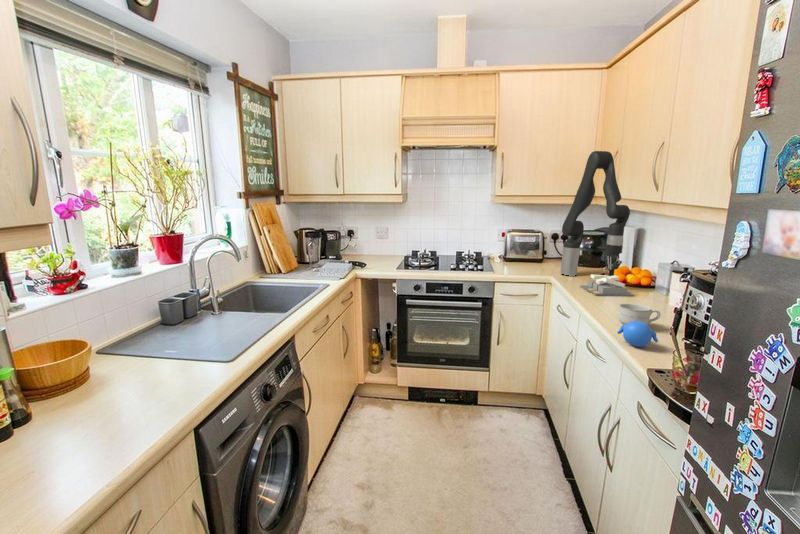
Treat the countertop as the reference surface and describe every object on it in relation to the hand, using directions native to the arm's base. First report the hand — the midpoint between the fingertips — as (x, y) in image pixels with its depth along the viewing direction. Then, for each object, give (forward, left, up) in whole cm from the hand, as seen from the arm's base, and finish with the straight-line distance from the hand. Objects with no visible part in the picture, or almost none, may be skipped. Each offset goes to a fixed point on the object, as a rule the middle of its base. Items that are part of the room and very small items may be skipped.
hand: (610, 276), depth 205 cm
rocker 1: (0, -5, -1) cm, 5 cm away
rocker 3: (+11, -5, -1) cm, 12 cm away
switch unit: (+5, -5, -7) cm, 10 cm away
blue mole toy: (+74, -31, -7) cm, 81 cm away
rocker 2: (+5, -5, -1) cm, 7 cm away
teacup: (+57, -20, -7) cm, 61 cm away
